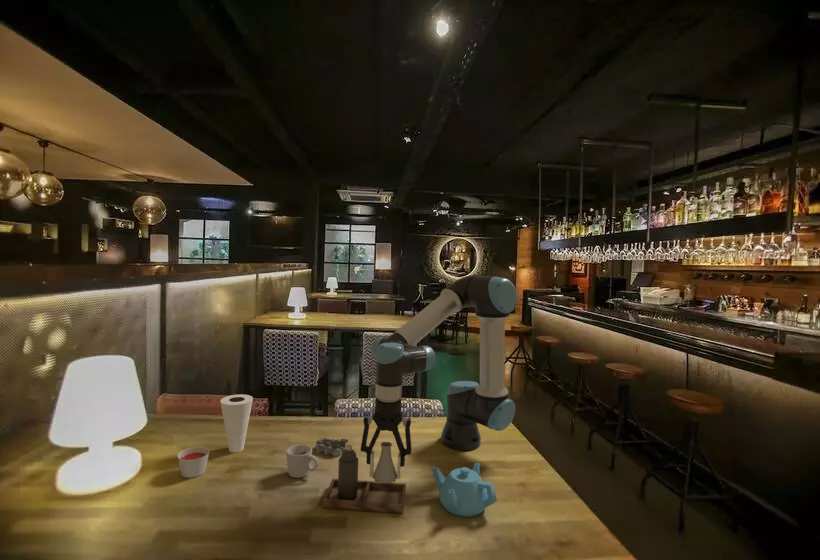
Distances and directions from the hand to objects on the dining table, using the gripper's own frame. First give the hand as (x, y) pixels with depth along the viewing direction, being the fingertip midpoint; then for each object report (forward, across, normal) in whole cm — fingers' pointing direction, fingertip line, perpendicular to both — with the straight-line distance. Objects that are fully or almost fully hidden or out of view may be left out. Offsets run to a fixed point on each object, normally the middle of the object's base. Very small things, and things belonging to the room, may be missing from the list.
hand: (385, 475), depth 127 cm
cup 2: (+8, +55, -25) cm, 61 cm away
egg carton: (+8, +22, -29) cm, 38 cm away
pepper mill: (+7, +11, 0) cm, 13 cm away
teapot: (+8, -23, -1) cm, 24 cm away
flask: (+1, 0, 0) cm, 1 cm away
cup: (+8, +27, -11) cm, 31 cm away
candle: (+8, +61, -8) cm, 62 cm away
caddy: (+8, +5, 0) cm, 9 cm away
